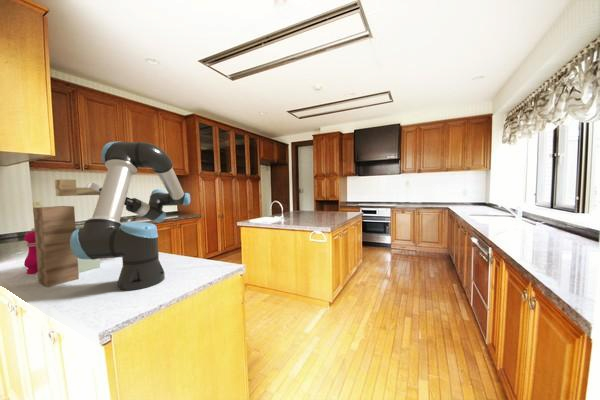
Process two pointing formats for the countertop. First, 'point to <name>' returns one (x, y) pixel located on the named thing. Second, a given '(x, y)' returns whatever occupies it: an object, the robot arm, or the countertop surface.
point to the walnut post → (55, 245)
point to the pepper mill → (31, 253)
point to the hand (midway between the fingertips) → (89, 185)
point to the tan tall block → (71, 189)
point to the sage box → (87, 262)
